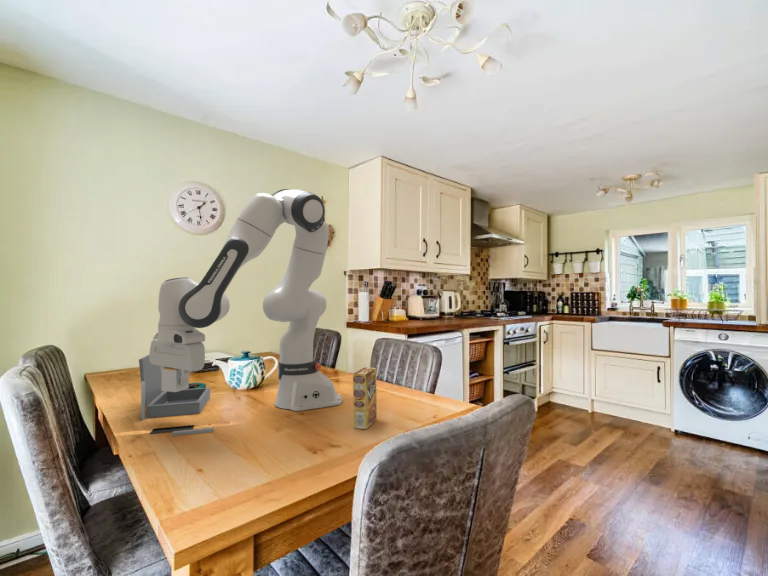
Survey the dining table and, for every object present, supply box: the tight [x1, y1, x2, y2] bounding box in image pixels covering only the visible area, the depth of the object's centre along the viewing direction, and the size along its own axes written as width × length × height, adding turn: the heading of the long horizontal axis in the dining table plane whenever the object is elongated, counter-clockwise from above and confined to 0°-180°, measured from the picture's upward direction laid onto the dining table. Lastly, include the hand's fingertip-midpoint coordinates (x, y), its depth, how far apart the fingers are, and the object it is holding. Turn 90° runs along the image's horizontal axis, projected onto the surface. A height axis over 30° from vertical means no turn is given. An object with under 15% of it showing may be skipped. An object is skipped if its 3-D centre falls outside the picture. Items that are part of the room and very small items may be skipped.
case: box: [140, 381, 211, 421], centre depth 118 cm, size 15×20×12 cm
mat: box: [149, 424, 195, 435], centre depth 105 cm, size 10×10×1 cm
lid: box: [138, 354, 164, 408], centre depth 116 cm, size 14×18×1 cm
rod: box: [171, 426, 215, 437], centre depth 99 cm, size 10×1×1 cm, turn 106°
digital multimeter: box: [187, 382, 207, 389], centre depth 138 cm, size 7×15×3 cm, turn 2°
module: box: [161, 367, 190, 392], centre depth 104 cm, size 5×4×6 cm
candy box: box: [352, 367, 378, 430], centre depth 106 cm, size 9×4×15 cm, turn 162°
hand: (175, 383), depth 105 cm, fingers closed on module, 5 cm apart
